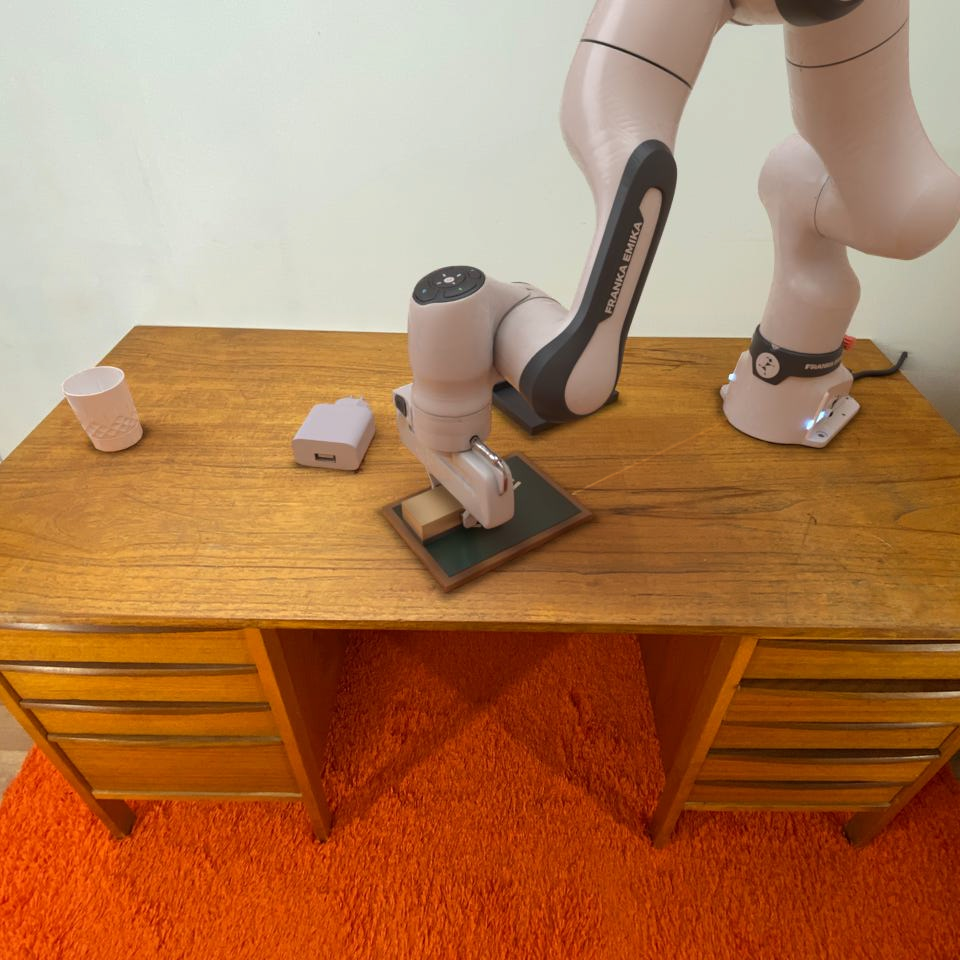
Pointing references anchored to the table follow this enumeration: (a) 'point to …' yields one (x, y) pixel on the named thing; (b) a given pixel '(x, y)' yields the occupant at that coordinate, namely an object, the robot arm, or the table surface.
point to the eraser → (432, 515)
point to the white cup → (104, 407)
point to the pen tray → (523, 408)
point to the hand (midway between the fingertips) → (453, 508)
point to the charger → (335, 435)
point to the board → (497, 527)
